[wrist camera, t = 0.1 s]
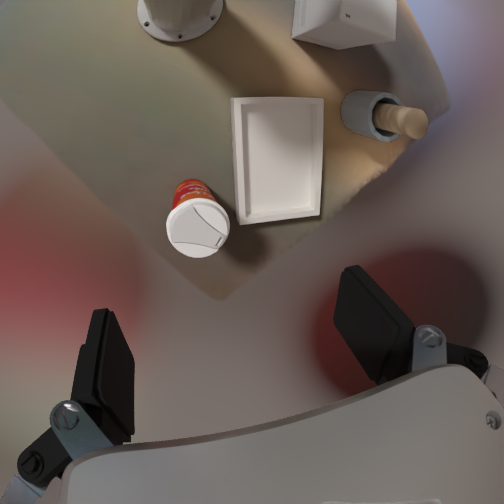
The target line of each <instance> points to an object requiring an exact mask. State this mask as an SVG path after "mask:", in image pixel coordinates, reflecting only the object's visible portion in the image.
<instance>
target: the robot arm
mask: <svg viewBox="0 0 504 504" xmlns="http://www.w3.org/2000/svg"><path fill="white" fill-rule="evenodd" d="M222 8H223V0H139V1H138V4H137V10H136V11H137V18H138V21H139V23H140V25H141V27H142V28H143V29H144V31H145V32H146V33H148V34H149V35H150V36H152V37H154V38H156V39H158V40H162V41H166V42H184V41H188V40H192V39H195V38H197V37H199V36H201V35H203V34H205V33H206V32H207V31H208V30H210V29H211V28H212V27H213V26H214V25H215V23H216V22H217V20H218V19H219V17H220V15H221V12H222ZM211 18H213V19H214V20H211ZM147 24H149V26H148V27H146V25H147ZM179 36H182V38H178V37H179ZM333 320H334V324H335V326H336V328H337V329H338V331H339V332H340V334H341V335H342V337H343V339H344V340H345V341H346V343H347V345H348V346H349V348H350V349H351V351H352V352H353V354H354V355H355V357H356V358H357V360H358V361H359V363H360V364H361V366H362V368H363V369H364V370H365V372H366V374H367V375H368V377H369V378H370V379H371V380H372V381H373V380H374V381H375V382H376V384H377V387H375V388H372V389H370V390H367V391H365V392H362V393H360V394H357V395H354V396H352V397H349V398H346V399H344V400H341V401H338V402H335V403H332V404H329V405H326V406H323V407H320V408H317V409H314V410H311V411H308V412H304V413H301V414H297V415H294V416H291V417H287V418H283V419H279V420H276V421H272V422H267V423H264V424H259V425H255V426H250V427H246V428H241V429H236V430H231V431H227V432H221V433H215V434H209V435H203V436H196V437H189V438H181V439H173V440H165V441H155V442H144V443H135V444H125V445H123V442H131V435H134V433H135V427H134V372H135V369H134V368H135V362H134V358H133V355H132V353H131V351H130V349H129V346H128V344H127V342H126V340H125V338H124V335H123V333H122V331H121V328H120V326H119V324H118V321H117V319H116V317H115V314H114V312H113V311H111V312H110V311H109V310H108V308H105V309H98V310H94V311H93V314H92V318H91V322H90V326H89V330H88V334H87V339H86V343H85V344H83V345H82V346H81V348H80V351H79V356H78V360H77V366H76V371H75V376H74V381H73V387H72V393H71V399H70V400H65V401H62V402H60V403H58V404H57V405H56V406H55V407H54V408H53V409H52V411H51V413H50V418H49V419H50V425H51V427H50V428H49V429H48V430H47V431H46V432H45V433H43V434H42V435H41V436H40V437H39V438H38V439H37V440H35V441H34V442H33V443H32V444H31V445H30V446H29V447H27V448H26V449H25V450H24V451H23V452H22V453H21V454H20V456H19V458H18V462H17V468H18V472H19V473H18V475H17V476H16V475H14V476H13V477H12V479H11V481H10V483H9V485H8V486H7V488H6V490H5V492H4V494H3V496H2V497H1V499H0V504H504V369H502V368H500V367H498V366H496V365H494V364H492V363H491V365H488V361H487V359H486V357H485V356H484V355H483V353H481V352H480V351H477V350H475V349H470V348H467V347H463V346H459V345H455V344H451V343H447V342H446V339H445V336H444V334H443V333H442V332H441V331H440V330H439V329H438V328H436V327H434V326H430V325H423V326H420V327H418V328H417V329H416V328H415V327H414V323H413V322H412V321H411V320H410V319H409V318H408V317H407V315H406V314H405V313H404V312H403V311H402V310H401V309H400V308H399V307H398V306H397V304H396V303H395V302H394V301H393V300H392V299H391V298H390V297H389V296H388V295H387V294H386V293H385V292H384V290H383V289H382V288H381V287H380V286H379V285H378V284H377V283H376V282H375V281H374V280H373V279H372V278H371V277H370V276H369V275H368V274H367V273H366V272H365V271H364V270H363V269H362V268H361V267H360V266H359V265H355V266H350V267H346V268H345V270H344V271H343V272H342V273H341V278H340V284H339V290H338V296H337V302H336V308H335V313H334V319H333ZM386 382H387V383H386ZM383 383H385V384H383ZM381 384H382V385H381ZM378 385H380V386H378Z"/></svg>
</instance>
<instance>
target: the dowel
mask: <svg viewBox="0 0 504 504" xmlns="http://www.w3.org/2000/svg"><path fill="white" fill-rule="evenodd" d="M372 123H373V125H374V127H375V128H379V129H382V130H386V131H390V132H394V133H397V134H401V135H404V136H408V137H411V138H414V139H421V138H422V137H424V136H425V134H426V133H427V130H428V118H427V116H426V114H425V113H424V112H423V111H422V110H420V109H416V108H410V107H404V106H398V105H392V104H385V103H378V102H376V104H375V106H374V108H373V110H372Z"/></svg>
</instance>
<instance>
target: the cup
mask: <svg viewBox="0 0 504 504" xmlns="http://www.w3.org/2000/svg"><path fill="white" fill-rule="evenodd" d="M376 102H378V103H385V104H392V105H398V106H403V104H402V101H400V100H399V99H398V98H397V97H396V96H395V95H394V94H391V93H385V92H377V91H363V90H355V91H353V92H351V93H349V94H347V95H346V97H345V99H344V100H343V102H342V104H341V118H342V120H343V122H344V124H345V126H346V127H347V128H348V129H349V130H351V131H352V132H353V133H355V134H359V135H362V136H366V137H369V138H372V139H375V140H379V141H387V142H392V141H393V140H395V139H396V138H398V137H399V136H400V135H401V134H397V133H394V132H390V131H386V130H382V129H379V128H375V127H374V125H373V123H372V110H373V108H374V106H375V104H376Z"/></svg>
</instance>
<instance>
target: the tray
mask: <svg viewBox="0 0 504 504" xmlns="http://www.w3.org/2000/svg"><path fill="white" fill-rule="evenodd" d="M230 110H231V131H232V151H233V170H234V189H235V206H236V219H237V221H238V223H239V224H240V225H245V224H253V223H260V222H268V221H276V220H283V219H291V218H299V217H308V216H316V215H319V214H320V198H321V180H322V156H323V112H324V98H307V97H243V98H230Z"/></svg>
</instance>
